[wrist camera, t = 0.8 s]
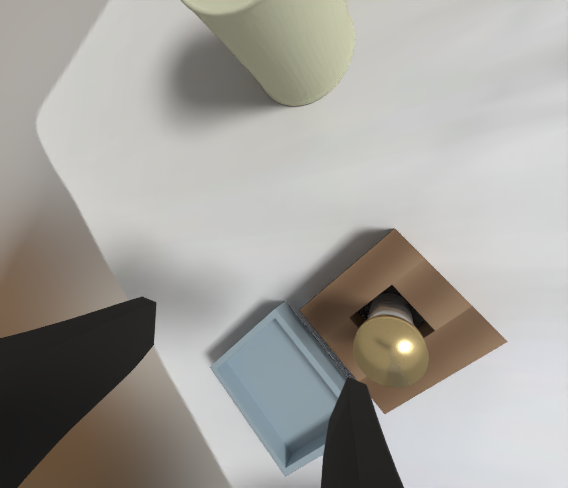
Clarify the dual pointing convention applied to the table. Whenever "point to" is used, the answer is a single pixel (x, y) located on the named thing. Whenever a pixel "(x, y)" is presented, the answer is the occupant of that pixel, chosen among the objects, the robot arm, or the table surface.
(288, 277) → the table surface
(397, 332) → the pin
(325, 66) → the can
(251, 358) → the tray
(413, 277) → the pin stand
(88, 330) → the robot arm
